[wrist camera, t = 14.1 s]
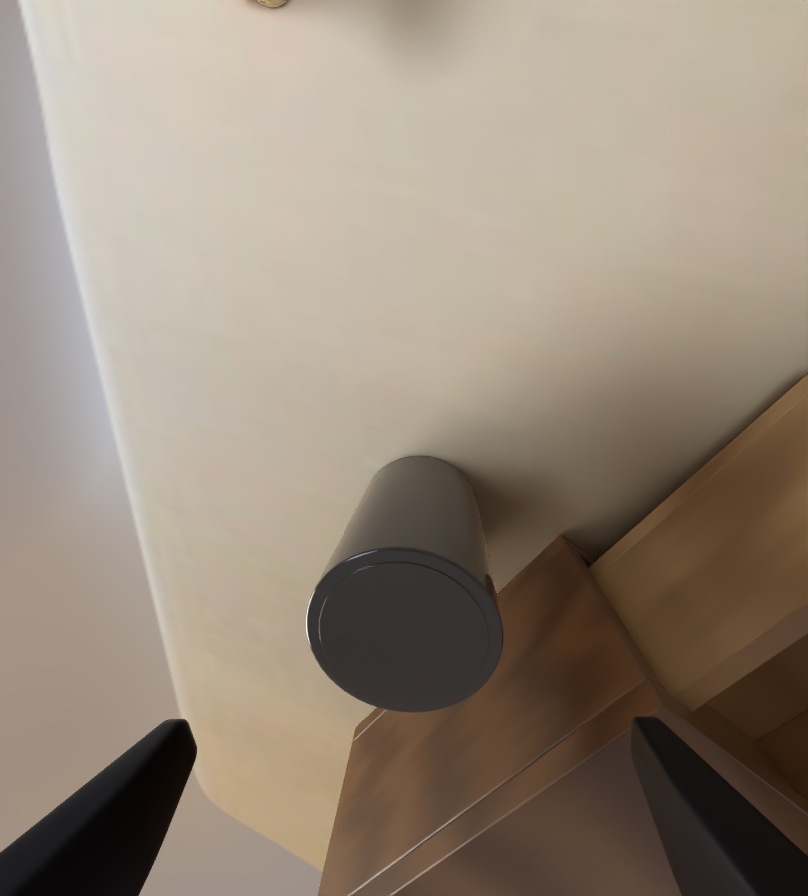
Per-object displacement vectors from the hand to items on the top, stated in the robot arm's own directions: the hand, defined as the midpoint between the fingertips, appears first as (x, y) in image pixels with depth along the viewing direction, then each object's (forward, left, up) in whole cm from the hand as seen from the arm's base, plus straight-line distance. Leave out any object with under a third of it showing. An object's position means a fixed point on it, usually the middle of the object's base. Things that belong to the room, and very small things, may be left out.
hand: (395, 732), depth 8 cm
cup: (0, 0, -11) cm, 11 cm away
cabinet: (-13, +5, -11) cm, 18 cm away
